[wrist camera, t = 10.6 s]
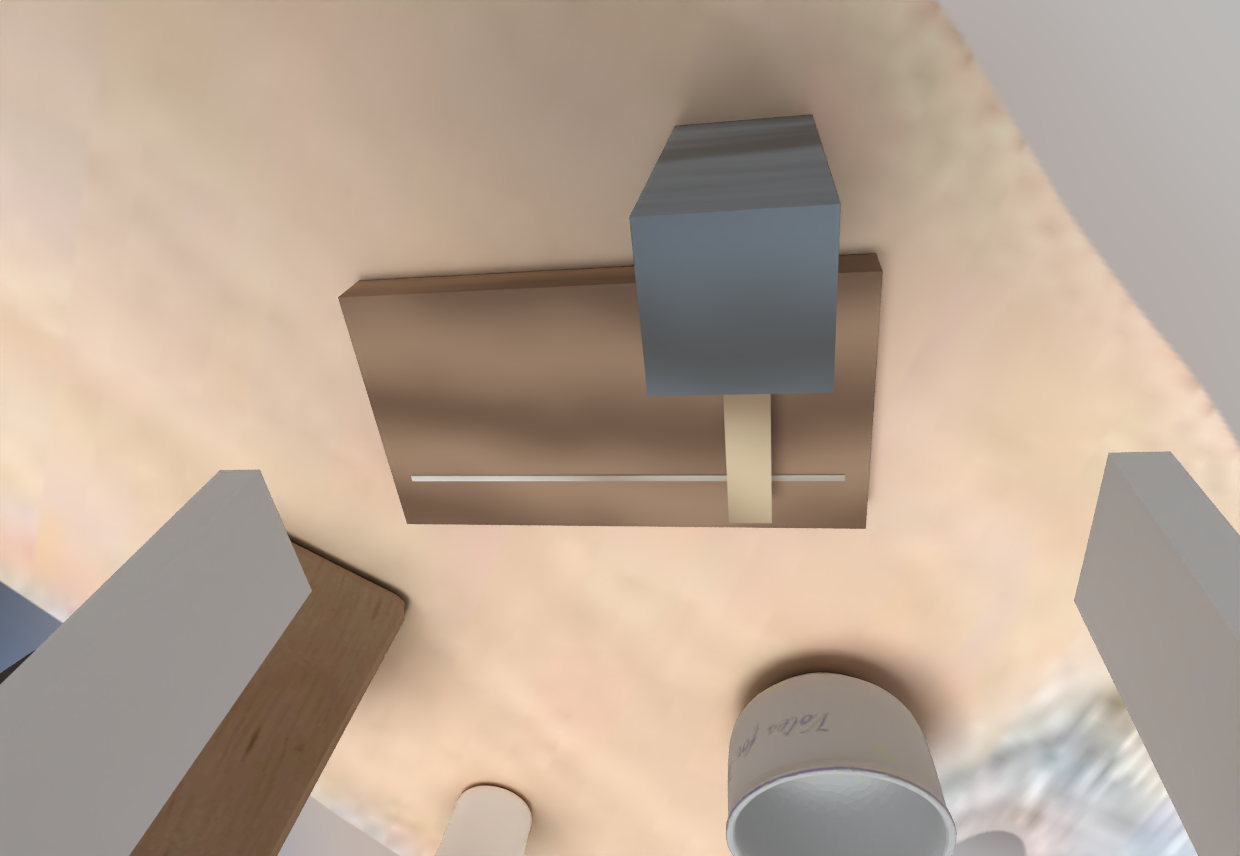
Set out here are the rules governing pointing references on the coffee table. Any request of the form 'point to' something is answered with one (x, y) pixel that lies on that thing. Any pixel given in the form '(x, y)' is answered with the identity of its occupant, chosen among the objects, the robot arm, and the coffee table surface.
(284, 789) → the wooden block
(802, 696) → the teacup
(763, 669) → the coffee table surface
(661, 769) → the coffee table surface
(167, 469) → the coffee table surface
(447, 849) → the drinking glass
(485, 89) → the coffee table surface
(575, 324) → the board
